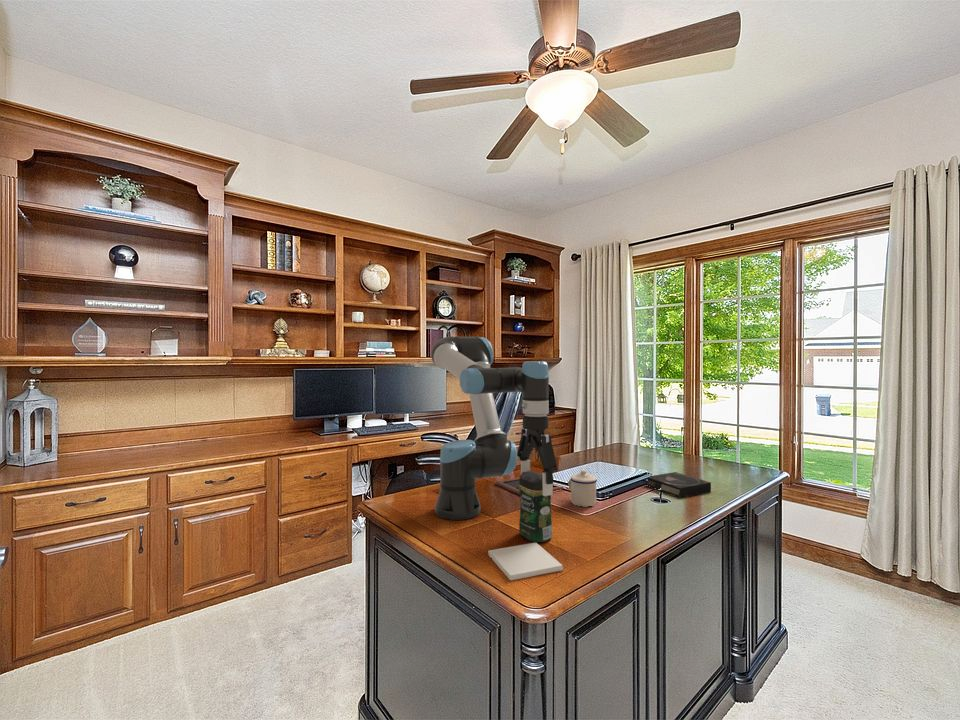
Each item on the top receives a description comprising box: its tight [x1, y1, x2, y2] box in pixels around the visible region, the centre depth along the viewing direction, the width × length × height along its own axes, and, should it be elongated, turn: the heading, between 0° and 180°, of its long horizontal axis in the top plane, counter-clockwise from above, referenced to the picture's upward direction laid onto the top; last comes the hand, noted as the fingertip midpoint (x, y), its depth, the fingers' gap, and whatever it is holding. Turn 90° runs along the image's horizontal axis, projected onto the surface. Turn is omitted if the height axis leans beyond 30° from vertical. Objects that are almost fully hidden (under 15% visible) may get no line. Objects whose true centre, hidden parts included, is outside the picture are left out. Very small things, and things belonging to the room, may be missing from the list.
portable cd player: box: [645, 471, 712, 499], centre depth 173 cm, size 16×17×4 cm
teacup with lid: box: [568, 469, 598, 508], centre depth 158 cm, size 12×9×12 cm
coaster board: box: [487, 542, 564, 581], centre depth 112 cm, size 14×14×1 cm
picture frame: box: [495, 472, 563, 497], centre depth 177 cm, size 20×2×25 cm
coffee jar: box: [518, 470, 553, 543], centre depth 128 cm, size 10×8×19 cm
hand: (536, 488), depth 128 cm, fingers open, 13 cm apart
